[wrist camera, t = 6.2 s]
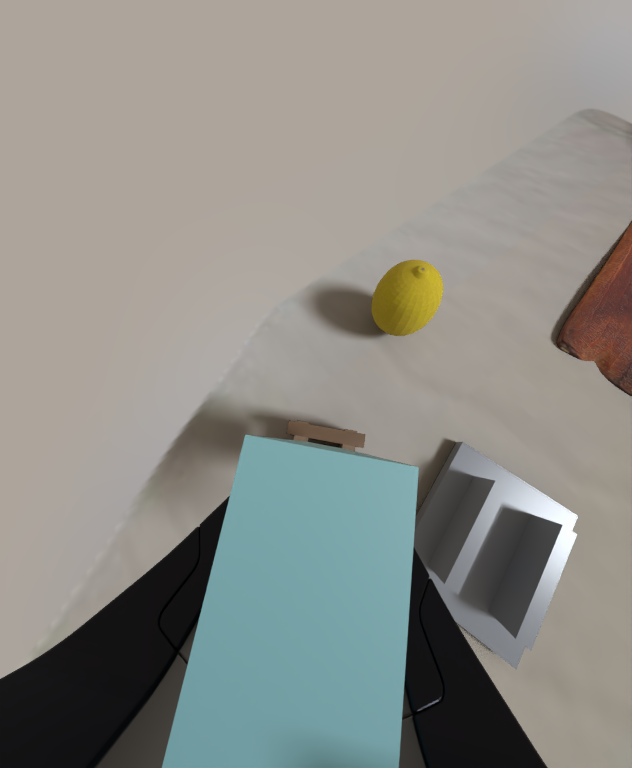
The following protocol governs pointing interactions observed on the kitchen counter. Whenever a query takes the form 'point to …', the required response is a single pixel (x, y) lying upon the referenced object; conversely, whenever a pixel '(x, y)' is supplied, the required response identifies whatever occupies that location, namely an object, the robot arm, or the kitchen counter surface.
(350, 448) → the stand
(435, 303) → the lemon
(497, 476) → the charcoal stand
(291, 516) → the teal rectangular block
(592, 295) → the wooden tablet
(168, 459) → the kitchen counter surface
